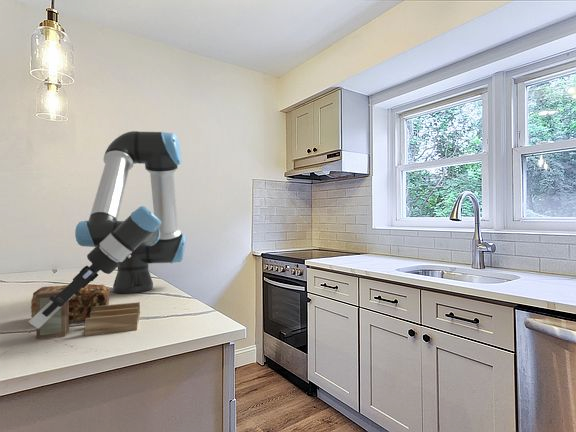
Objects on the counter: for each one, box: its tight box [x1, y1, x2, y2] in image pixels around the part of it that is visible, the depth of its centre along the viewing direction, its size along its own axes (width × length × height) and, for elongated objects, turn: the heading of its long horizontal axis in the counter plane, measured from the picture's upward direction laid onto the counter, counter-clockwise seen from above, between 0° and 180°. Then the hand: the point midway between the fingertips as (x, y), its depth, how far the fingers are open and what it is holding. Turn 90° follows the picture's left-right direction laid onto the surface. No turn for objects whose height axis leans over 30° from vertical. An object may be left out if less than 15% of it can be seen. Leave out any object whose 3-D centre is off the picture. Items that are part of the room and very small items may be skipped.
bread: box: [30, 283, 110, 323], centre depth 102 cm, size 19×11×10 cm, turn 111°
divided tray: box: [84, 301, 141, 337], centre depth 95 cm, size 15×12×4 cm
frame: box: [35, 290, 70, 340], centre depth 87 cm, size 4×6×11 cm
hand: (42, 317), depth 86 cm, fingers open, 13 cm apart
